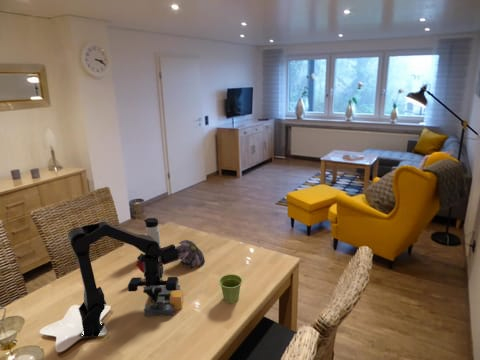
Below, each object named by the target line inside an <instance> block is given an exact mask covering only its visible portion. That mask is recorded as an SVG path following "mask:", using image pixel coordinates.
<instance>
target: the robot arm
mask: <svg viewBox="0 0 480 360" xmlns="http://www.w3.org/2000/svg"><path fill="white" fill-rule="evenodd" d="M104 237H108V238H111V239H114V240H117V241H119V242H122V243H125V244H127V245H130V246H133V247H135V248H136V249H137V250H139V251H140V252H141V253H140V254H139V255H138V256H137V258H136V259H137V261H138V260H139V262H140V263H141V262H143V263H144V272H145V273H143V276H144V278H145V279H144V280H143V278H142V277H140V276H139V277H138V276H137V277H131V279H130V280H129V282H128V284H127V290H128V292H137V291H138V289H139V287H142V288H143V291H142V292H143V293H144V294H146V295H147V296H149V298H150V300H151V299H152V300H153V303H154V304H157V298H158V294H159V293H160V292H162V290H163V287H164V286H166V290H168V291H175V290H176V289H177V286H178V285H179V278H178V276H168V277H167V279H166V280H164V279H163V275H164V265H168V264H171V263H174V262H177V261H178V260H179V259H178V258H179V256H178V253H177V250H176V245H175V244H174V243H172V244H169V245H168V246H163V247H160V246H159V244H158V243H157V242H156V241H155V240H154V239H153V237H151V236H148V235H147V234H138V233H134V232H132V231H129V230H127V229H124V228H121V227H119V226H116V225H114V224H111V223H109V222H108V221H106V220H105V221H104V220H103V221H100V222H98V223H91V224H86V225H83V226H77V227H73V228H71V229H70V230H69V231H68V232H67V239H68V241H69V244H70V245H71V248H72V250H73V252H74V254H75V256H76V260H77V262H78V263H77V264H78V267H79V272H80V275H81V280H82V282H83V288H84V291H83V302H82V303H81V305H80V306H79V307H78V312H79V314H80V318H81V324H82V331H84V335H83V334H82V335H83V336H86V337H85V338H92V337H93V338H97V337H99V336H100V334H101V332H102V330H103V329H102V328H104V327H105V322H101V314H102V312H104V311H105V307H106V305H107V302H106V299H105V293H104V291H103V289H102V287H101V286H98V287H97V284H96V280H95V275H94V271H93V266H92V262H91V258H90V250H91V245H92V244H94V243H97V242H98V241H99V240H101V239H102V238H104ZM159 261H160V263H163V266H159ZM154 286H155V287H156V288H155V290H154ZM100 323H101V324H102V325H101V324H100ZM103 326H104V327H103ZM100 331H101V332H100ZM99 333H100V334H99ZM98 335H99V336H98ZM87 336H88V337H87Z"/></svg>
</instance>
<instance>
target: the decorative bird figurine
mask: <svg viewBox="0 0 480 360" xmlns="http://www.w3.org/2000/svg"><path fill="white" fill-rule="evenodd" d="M159 266H163V267H164V264H163V263H160V261H159ZM134 267H137V269H138V270H139V271H140V272H141V273H143V274H144V273H145V272H144V263H143V262H141V263H140V262H139V260H138V259H137V261H136V264H135V266H134Z"/></svg>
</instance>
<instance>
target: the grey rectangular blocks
mask: <svg viewBox="0 0 480 360" xmlns="http://www.w3.org/2000/svg"><path fill="white" fill-rule="evenodd" d="M155 288H156V287H155V286H154V290H155ZM176 290H181V285H179V284H178V286H177V289H176ZM171 292H172V291H168V290H166V286H164V287H163V290H162V292H160V293H159V294H158V297H165V300H170V295H171ZM150 300H151V302H152V301H153V300H152V299H151V298H150ZM157 300H158V298H157ZM175 311H176V309H175V307H174V304H164V305H157V304H145V306H144V308H143V313H144V314H143V315H144V317H173V316H174V315H175Z"/></svg>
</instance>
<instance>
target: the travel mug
mask: <svg viewBox="0 0 480 360" xmlns="http://www.w3.org/2000/svg"><path fill="white" fill-rule="evenodd" d="M144 222H145V231H146V235H148V236H151V237H153V239H154V240H155V241H156V242H157V243H158V244H159V246H160V247H161V246H162V245H161V235H160V227H159V219H157V218H155V217H148V218H146V219H144ZM161 248H162V247H161Z"/></svg>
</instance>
